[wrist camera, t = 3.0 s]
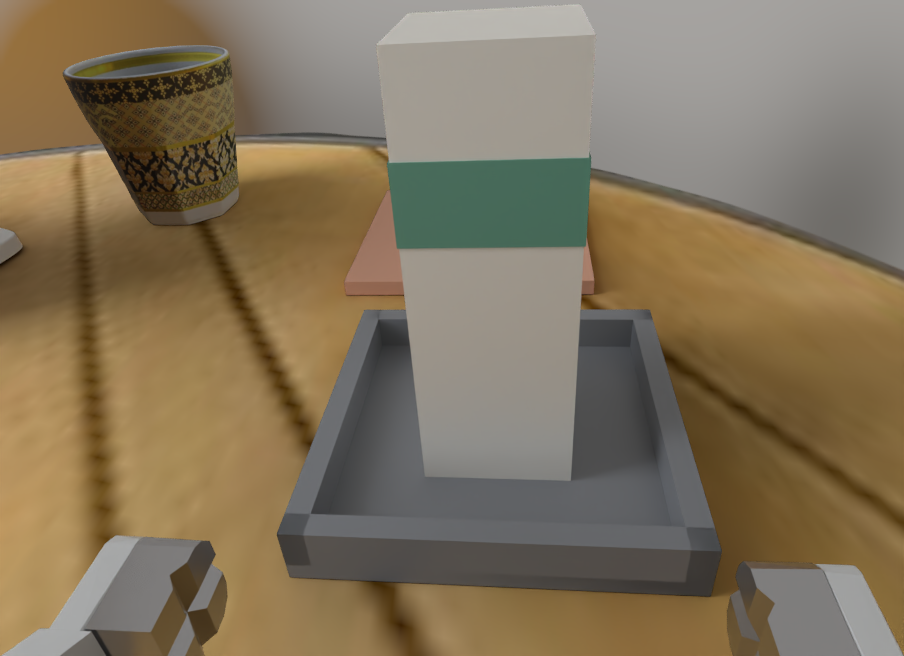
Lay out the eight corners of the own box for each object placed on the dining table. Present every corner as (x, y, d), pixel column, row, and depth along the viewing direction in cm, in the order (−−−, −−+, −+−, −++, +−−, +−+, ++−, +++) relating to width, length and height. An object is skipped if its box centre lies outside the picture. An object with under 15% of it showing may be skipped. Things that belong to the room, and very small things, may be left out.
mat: (346, 295, 35) (343, 281, 35) (388, 201, 46) (387, 190, 45) (593, 294, 34) (594, 280, 33) (577, 197, 44) (577, 186, 44)
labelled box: (423, 477, 23) (373, 45, 15) (439, 386, 27) (406, 13, 19) (572, 481, 22) (598, 35, 15) (564, 388, 26) (582, 3, 19)
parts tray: (289, 577, 20) (276, 534, 19) (370, 346, 31) (364, 309, 30) (710, 596, 19) (721, 551, 18) (644, 347, 29) (649, 309, 28)
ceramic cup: (284, 207, 46) (252, 56, 41) (138, 251, 41) (80, 87, 36) (219, 164, 55) (185, 35, 50) (93, 196, 50) (41, 58, 45)
